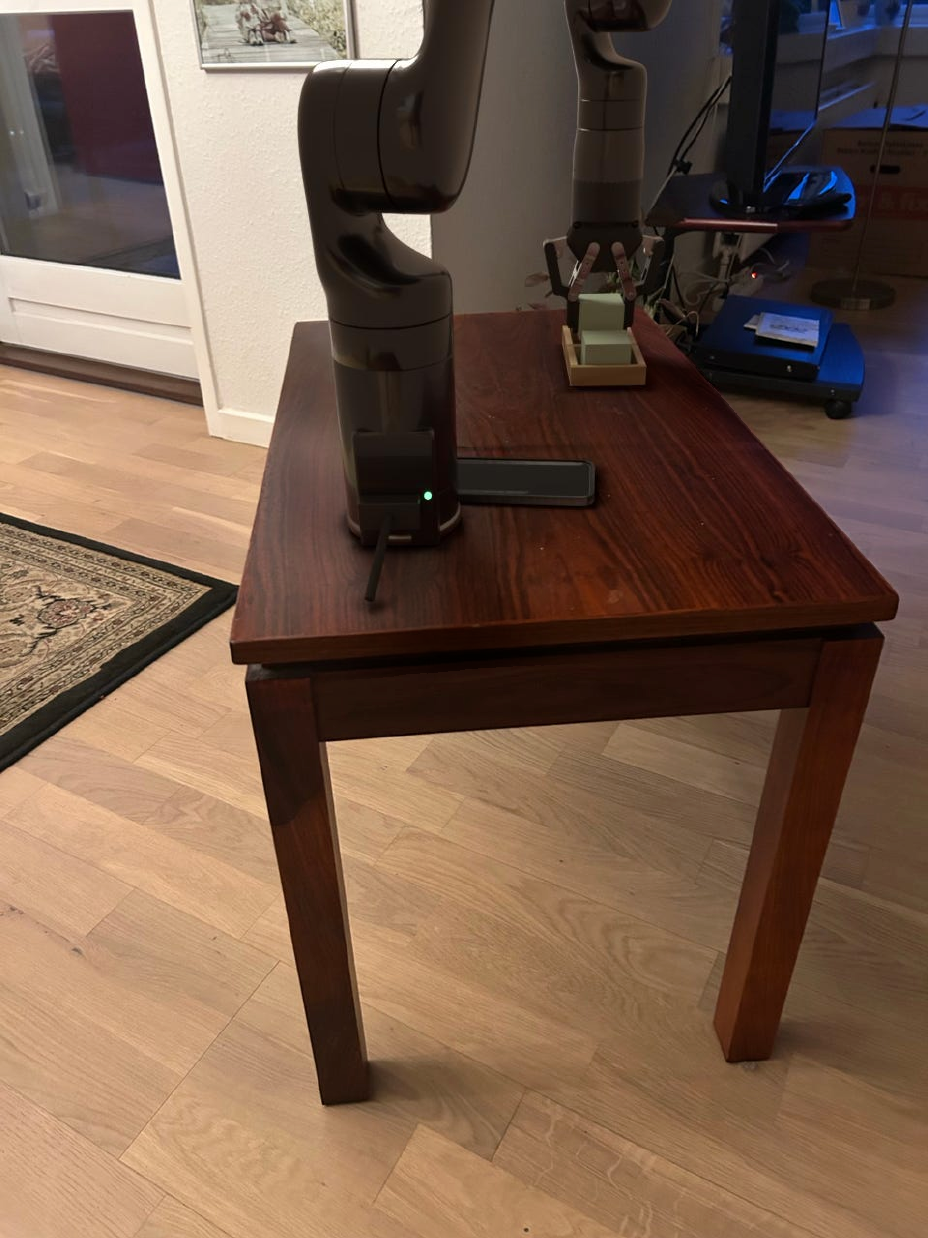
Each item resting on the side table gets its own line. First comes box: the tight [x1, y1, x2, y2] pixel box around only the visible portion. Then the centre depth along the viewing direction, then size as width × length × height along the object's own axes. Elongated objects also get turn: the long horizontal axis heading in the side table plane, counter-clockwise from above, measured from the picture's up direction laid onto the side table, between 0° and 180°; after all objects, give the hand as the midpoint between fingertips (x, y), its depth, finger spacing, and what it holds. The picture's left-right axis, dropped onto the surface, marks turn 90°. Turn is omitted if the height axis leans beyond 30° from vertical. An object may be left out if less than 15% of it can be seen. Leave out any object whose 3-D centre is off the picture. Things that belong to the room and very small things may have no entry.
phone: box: [457, 456, 596, 507], centre depth 84 cm, size 8×1×15 cm
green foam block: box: [580, 330, 632, 365], centre depth 105 cm, size 5×5×4 cm
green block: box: [577, 293, 625, 341], centre depth 110 cm, size 5×5×4 cm
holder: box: [561, 325, 647, 387], centre depth 109 cm, size 15×8×3 cm, turn 179°
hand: (599, 330), depth 111 cm, fingers closed on green block, 5 cm apart
